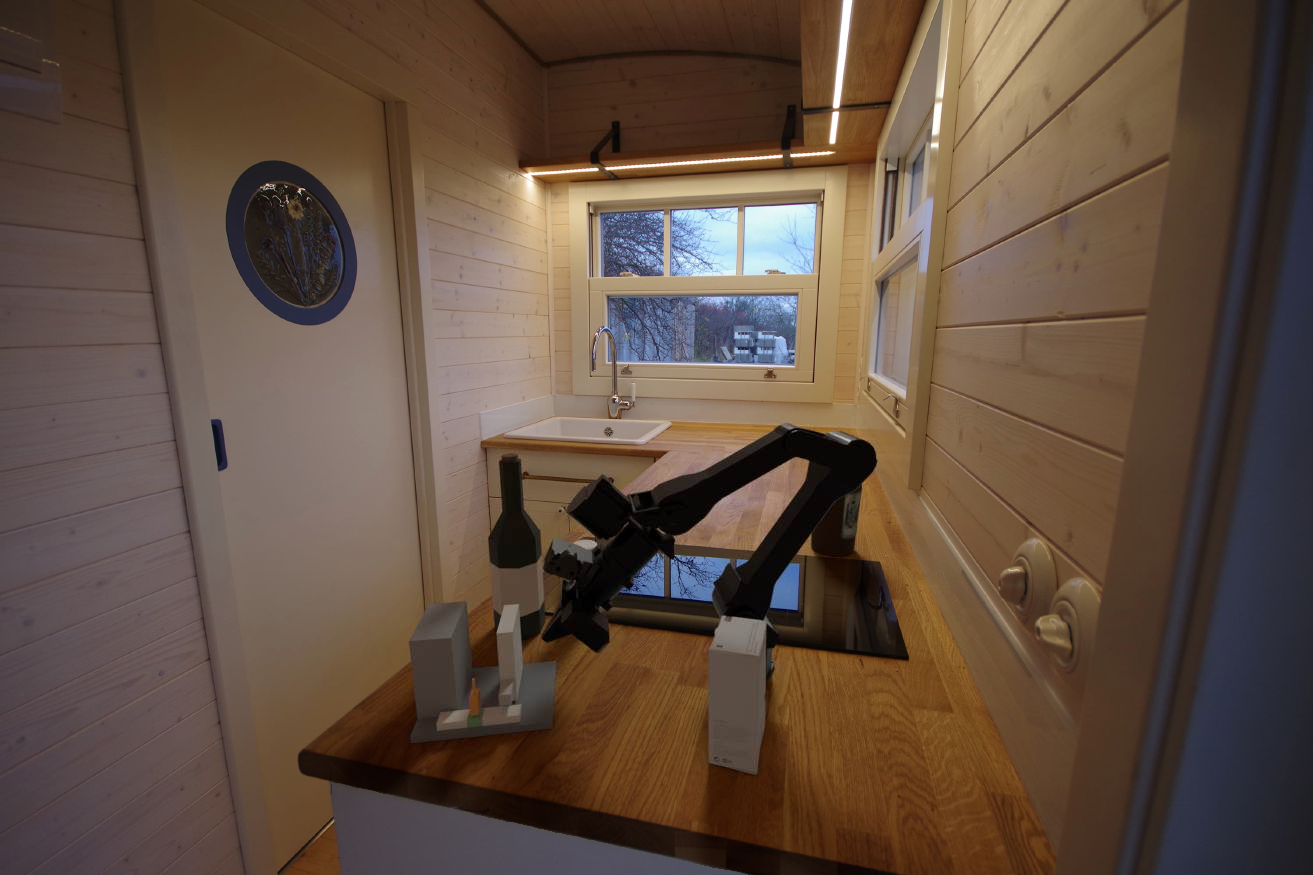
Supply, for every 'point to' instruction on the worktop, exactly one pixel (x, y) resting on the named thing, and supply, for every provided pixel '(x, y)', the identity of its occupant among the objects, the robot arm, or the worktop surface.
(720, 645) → the skincare box
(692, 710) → the worktop surface
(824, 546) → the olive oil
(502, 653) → the white tall block
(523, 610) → the wine bottle
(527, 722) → the base
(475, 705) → the orange block with rod
